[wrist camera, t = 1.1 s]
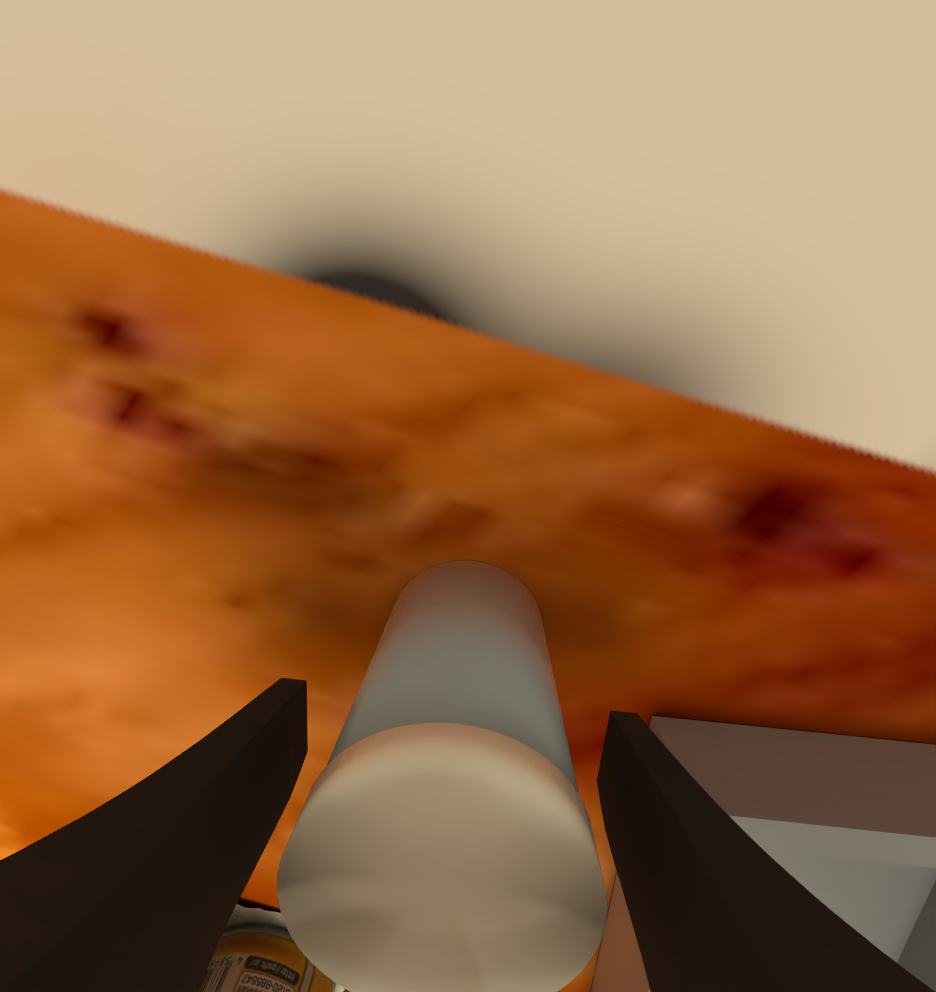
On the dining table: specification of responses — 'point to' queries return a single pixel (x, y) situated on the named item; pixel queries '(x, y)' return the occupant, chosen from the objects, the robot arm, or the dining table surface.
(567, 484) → the dining table surface
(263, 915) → the condiment
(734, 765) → the tray
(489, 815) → the jar
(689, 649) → the dining table surface
